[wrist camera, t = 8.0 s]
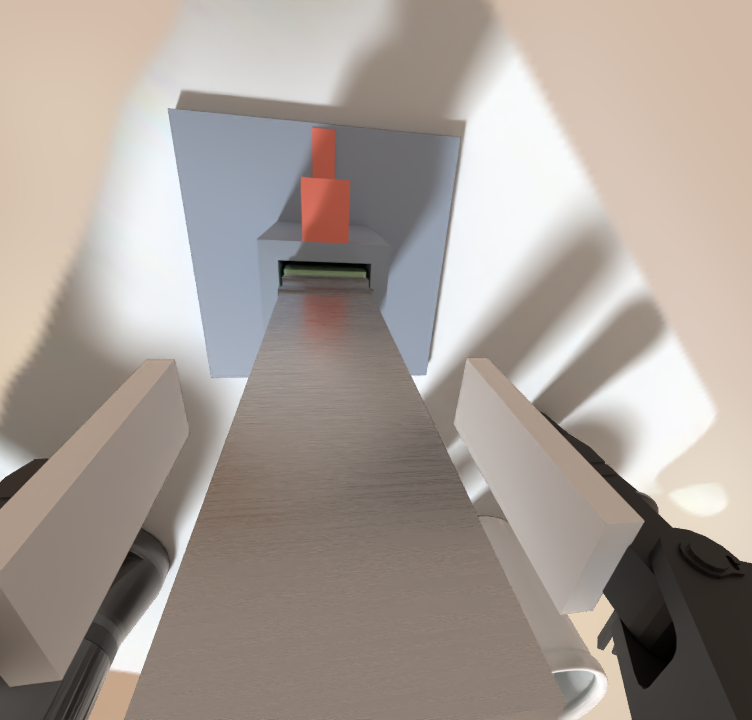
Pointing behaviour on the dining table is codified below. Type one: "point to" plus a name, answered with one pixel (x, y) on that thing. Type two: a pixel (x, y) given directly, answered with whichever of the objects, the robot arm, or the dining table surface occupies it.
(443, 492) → the column
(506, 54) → the dining table surface
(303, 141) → the stand
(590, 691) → the utensil holder
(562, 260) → the dining table surface
